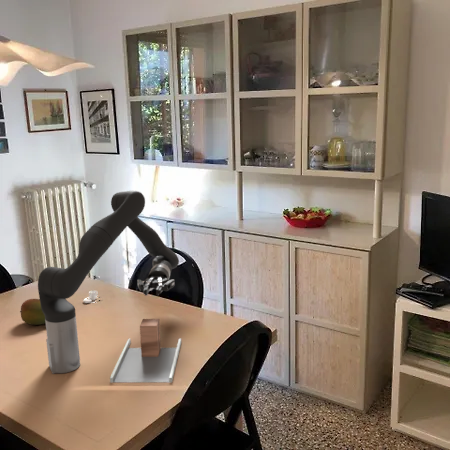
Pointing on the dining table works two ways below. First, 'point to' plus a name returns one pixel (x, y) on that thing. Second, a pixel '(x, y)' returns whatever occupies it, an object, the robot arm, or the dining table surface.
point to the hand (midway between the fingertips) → (151, 292)
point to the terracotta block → (150, 337)
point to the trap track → (145, 365)
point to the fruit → (32, 312)
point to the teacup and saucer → (91, 297)
